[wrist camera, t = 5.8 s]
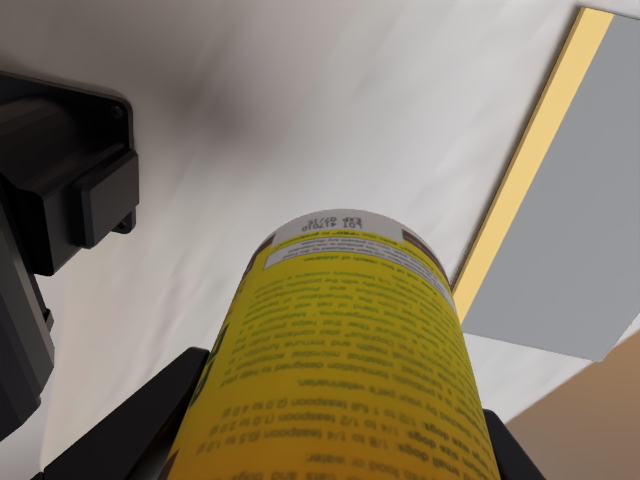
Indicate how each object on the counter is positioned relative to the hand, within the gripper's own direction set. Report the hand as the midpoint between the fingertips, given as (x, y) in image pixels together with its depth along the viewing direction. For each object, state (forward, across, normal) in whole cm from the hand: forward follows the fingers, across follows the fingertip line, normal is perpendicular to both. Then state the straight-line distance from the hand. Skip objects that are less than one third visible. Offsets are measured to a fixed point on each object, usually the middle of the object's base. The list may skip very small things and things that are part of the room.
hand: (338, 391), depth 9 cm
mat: (+12, -11, 0) cm, 16 cm away
